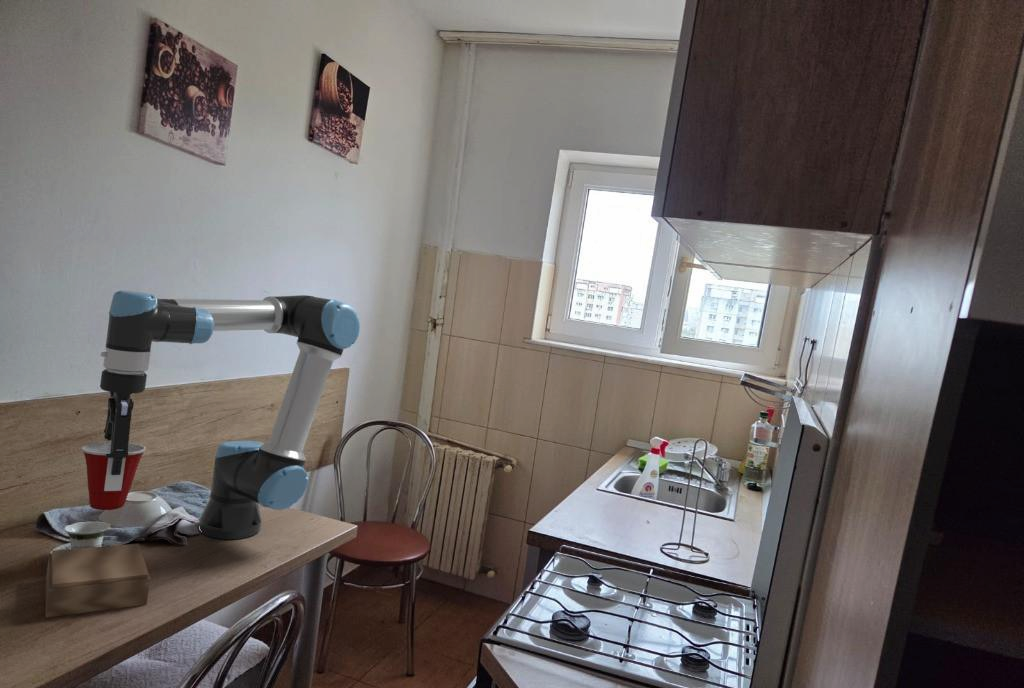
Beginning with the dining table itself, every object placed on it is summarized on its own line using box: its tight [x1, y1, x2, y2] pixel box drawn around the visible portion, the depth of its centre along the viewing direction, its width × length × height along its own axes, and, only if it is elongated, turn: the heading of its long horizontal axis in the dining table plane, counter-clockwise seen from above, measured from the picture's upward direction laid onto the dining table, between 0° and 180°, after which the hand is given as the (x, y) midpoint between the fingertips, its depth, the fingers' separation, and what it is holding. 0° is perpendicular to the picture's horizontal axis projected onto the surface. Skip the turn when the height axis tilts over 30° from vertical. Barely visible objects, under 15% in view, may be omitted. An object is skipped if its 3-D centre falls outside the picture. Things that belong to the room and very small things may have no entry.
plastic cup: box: [81, 442, 147, 511], centre depth 124 cm, size 11×11×12 cm
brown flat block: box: [45, 543, 151, 618], centre depth 125 cm, size 16×16×6 cm
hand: (110, 480), depth 124 cm, fingers closed on plastic cup, 11 cm apart
